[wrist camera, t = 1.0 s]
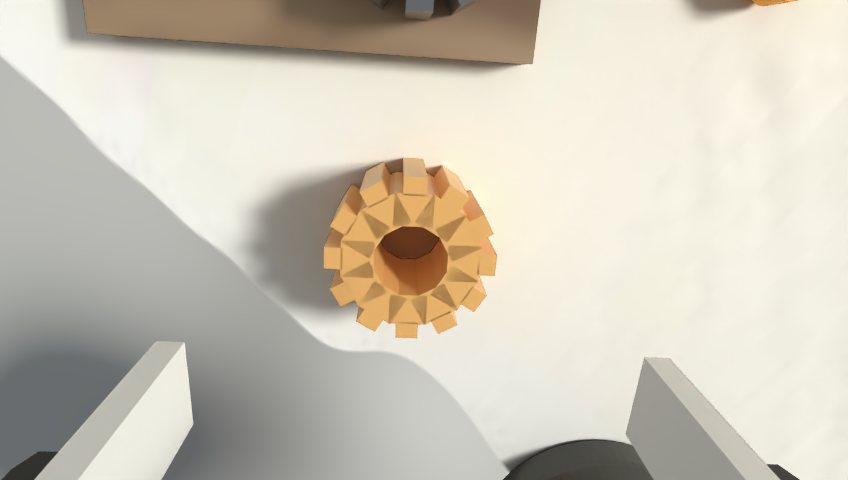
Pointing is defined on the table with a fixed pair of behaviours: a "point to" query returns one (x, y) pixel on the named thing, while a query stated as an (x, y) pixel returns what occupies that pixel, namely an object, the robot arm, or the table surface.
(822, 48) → the table surface
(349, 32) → the gear board
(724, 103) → the table surface
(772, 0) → the bracket
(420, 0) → the gear
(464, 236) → the orange gear
